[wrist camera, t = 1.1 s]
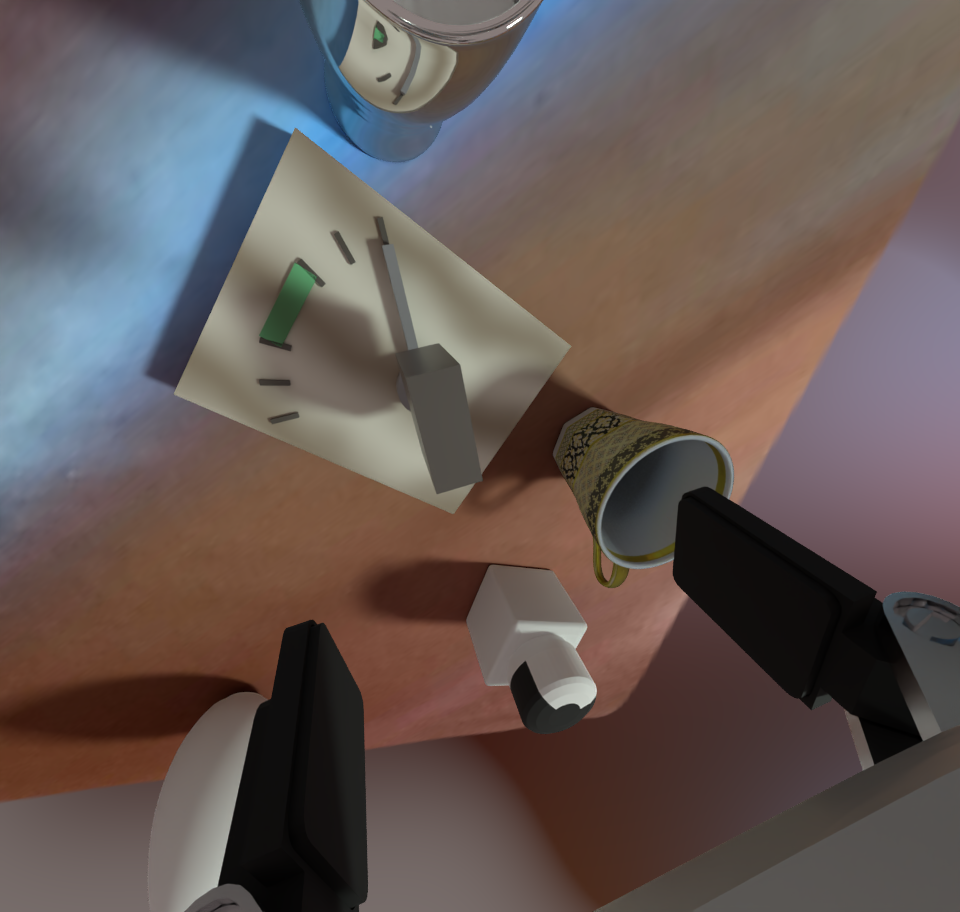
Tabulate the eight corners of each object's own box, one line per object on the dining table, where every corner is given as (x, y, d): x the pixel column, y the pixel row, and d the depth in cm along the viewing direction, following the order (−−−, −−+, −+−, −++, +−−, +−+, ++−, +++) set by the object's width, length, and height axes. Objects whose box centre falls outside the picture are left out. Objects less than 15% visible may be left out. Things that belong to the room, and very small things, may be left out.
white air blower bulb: (303, 671, 36) (265, 981, 21) (280, 728, 38) (230, 1045, 23) (203, 666, 33) (69, 1028, 17) (185, 728, 35) (52, 1097, 20)
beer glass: (318, 159, 21) (262, 2, 8) (310, -26, 18) (202, -720, 5) (447, 183, 23) (566, 89, 10) (458, 20, 20) (642, -399, 7)
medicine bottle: (526, 622, 42) (583, 742, 31) (464, 620, 39) (503, 750, 29) (553, 568, 39) (624, 679, 29) (488, 562, 37) (541, 682, 26)
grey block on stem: (415, 239, 22) (445, 231, 15) (454, 420, 27) (490, 478, 20) (357, 250, 21) (358, 246, 14) (409, 433, 27) (428, 497, 20)
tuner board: (300, 138, 21) (294, 126, 19) (558, 340, 29) (572, 346, 27) (186, 384, 24) (172, 395, 22) (448, 500, 33) (454, 515, 31)
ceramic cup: (559, 374, 30) (640, 420, 22) (658, 400, 34) (762, 449, 25) (507, 517, 35) (556, 602, 26) (599, 527, 39) (669, 604, 30)
